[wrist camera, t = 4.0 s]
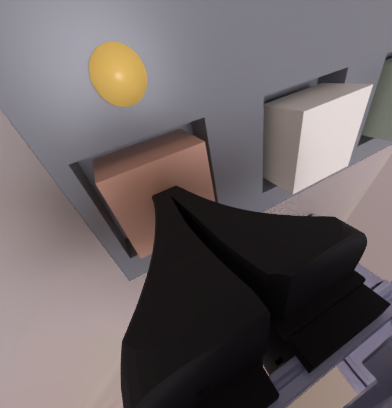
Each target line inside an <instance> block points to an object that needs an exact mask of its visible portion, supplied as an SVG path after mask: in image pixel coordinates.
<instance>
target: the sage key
mask: <svg viewBox="0 0 392 408" xmlns="http://www.w3.org/2000/svg"><path fill="white" fill-rule="evenodd" d="M361 135H363V136H368V137H373V138H378V139H382V140H387V141H392V58H390V59H387V60H385V62H384V65H383V68H382V71H381V74H380V78H379V81H378V84H377V87H376V90H375V93H374V96H373V99H372V102H371V106H370V109H369V112H368V115H367V118H366V121H365V124H364V127H363V130H362V134H361Z"/></svg>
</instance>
